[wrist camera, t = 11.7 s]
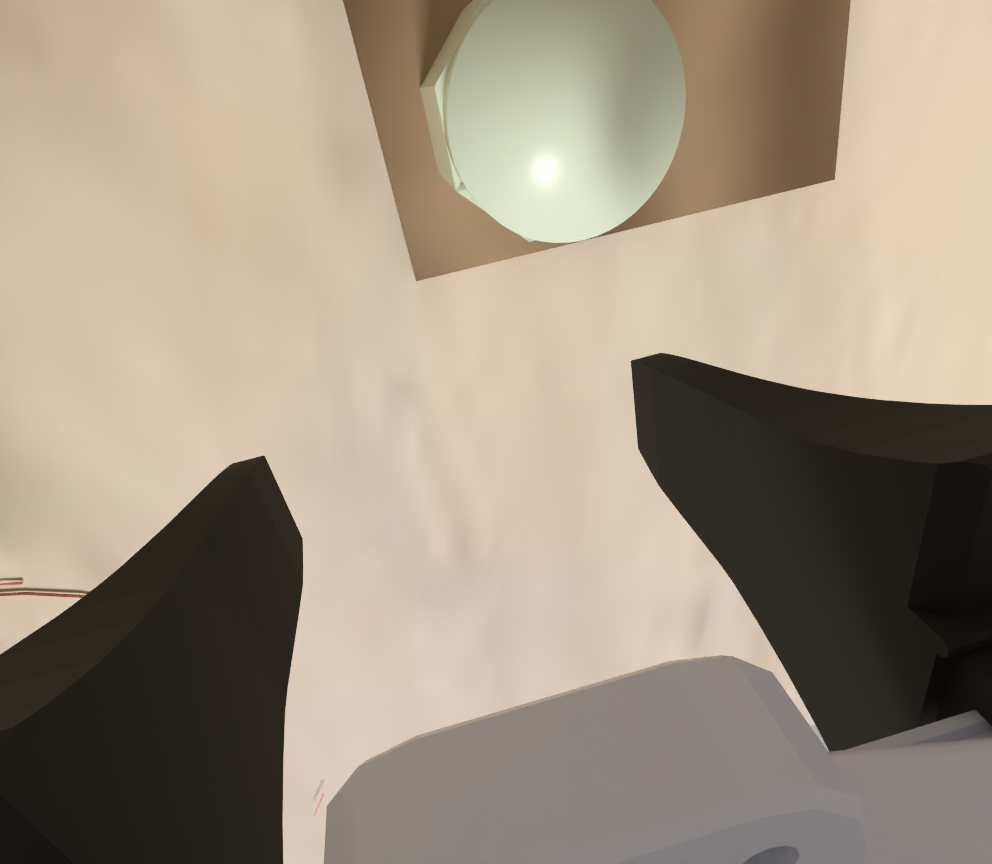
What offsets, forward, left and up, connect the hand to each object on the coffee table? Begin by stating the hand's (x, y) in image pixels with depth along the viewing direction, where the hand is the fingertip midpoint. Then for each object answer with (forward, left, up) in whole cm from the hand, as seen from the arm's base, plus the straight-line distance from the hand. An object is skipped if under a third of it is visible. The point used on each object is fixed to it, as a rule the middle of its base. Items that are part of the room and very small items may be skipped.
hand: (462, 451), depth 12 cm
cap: (-4, -5, -9) cm, 11 cm away
